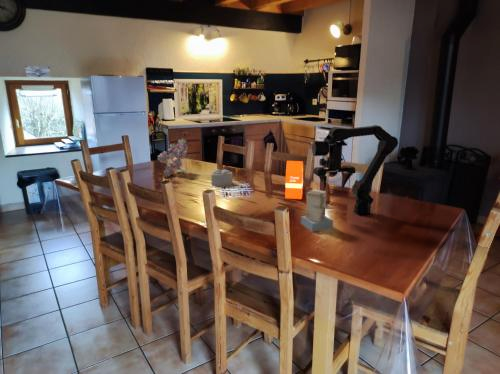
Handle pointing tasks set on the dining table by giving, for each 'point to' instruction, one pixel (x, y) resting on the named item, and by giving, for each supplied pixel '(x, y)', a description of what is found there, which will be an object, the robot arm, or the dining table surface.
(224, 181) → the lumpy-topped squat cylinder
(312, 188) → the bull figurine
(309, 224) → the slate plinth
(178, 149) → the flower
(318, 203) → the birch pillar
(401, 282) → the dining table surface
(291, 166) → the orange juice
